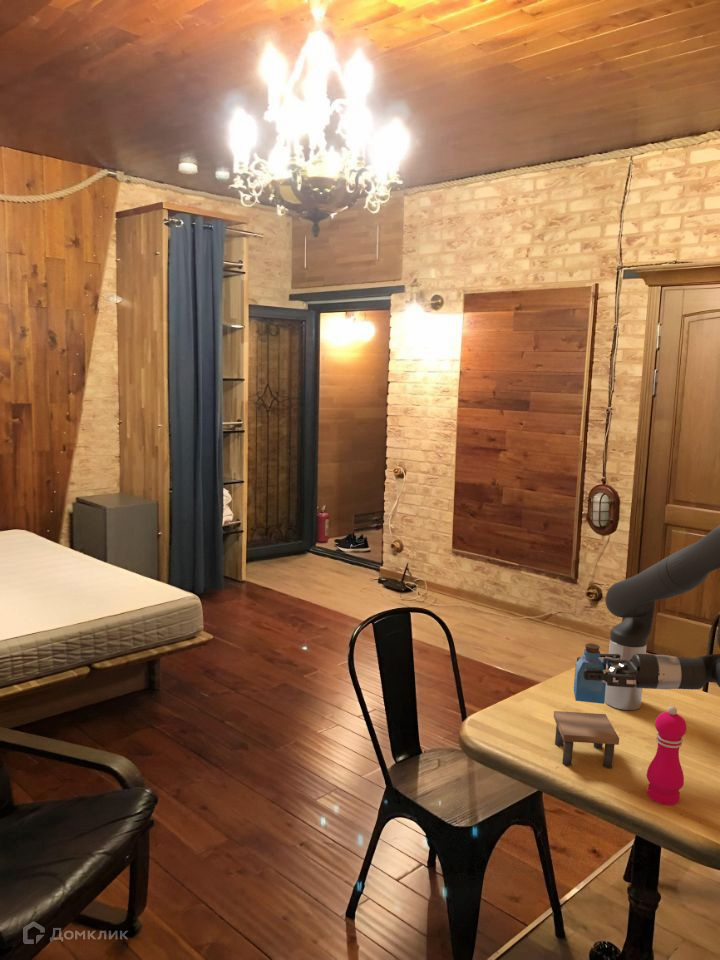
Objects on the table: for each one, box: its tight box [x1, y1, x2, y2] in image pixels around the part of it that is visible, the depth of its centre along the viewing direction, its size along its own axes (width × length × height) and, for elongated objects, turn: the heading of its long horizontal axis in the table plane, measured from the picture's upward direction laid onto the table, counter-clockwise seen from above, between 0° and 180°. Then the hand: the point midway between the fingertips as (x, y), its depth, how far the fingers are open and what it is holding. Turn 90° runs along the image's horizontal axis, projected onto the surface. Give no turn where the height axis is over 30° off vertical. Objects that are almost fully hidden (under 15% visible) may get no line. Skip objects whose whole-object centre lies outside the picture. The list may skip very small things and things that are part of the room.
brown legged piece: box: [553, 710, 620, 770], centre depth 179 cm, size 12×12×8 cm
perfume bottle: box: [573, 643, 606, 705], centre depth 176 cm, size 6×6×12 cm
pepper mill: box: [646, 705, 687, 806], centre depth 162 cm, size 7×7×20 cm
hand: (580, 668), depth 177 cm, fingers closed on perfume bottle, 7 cm apart
